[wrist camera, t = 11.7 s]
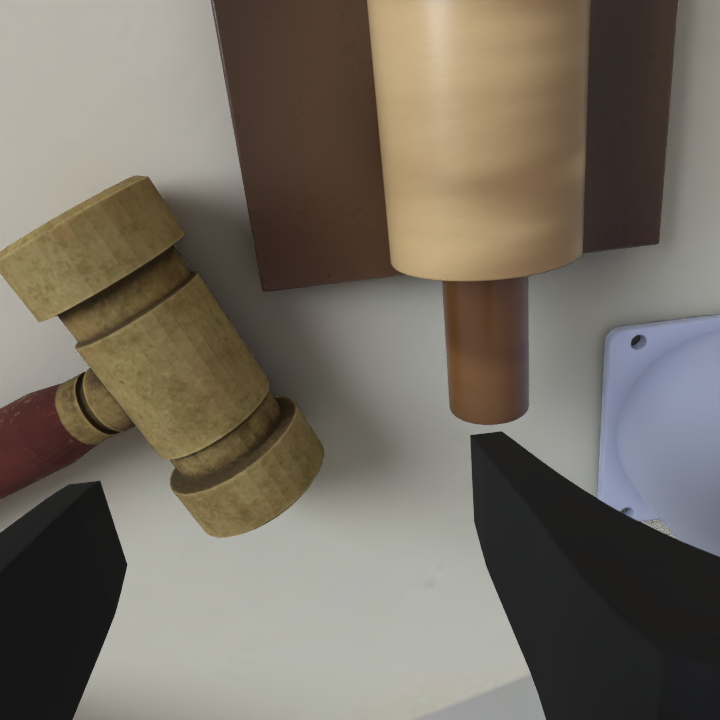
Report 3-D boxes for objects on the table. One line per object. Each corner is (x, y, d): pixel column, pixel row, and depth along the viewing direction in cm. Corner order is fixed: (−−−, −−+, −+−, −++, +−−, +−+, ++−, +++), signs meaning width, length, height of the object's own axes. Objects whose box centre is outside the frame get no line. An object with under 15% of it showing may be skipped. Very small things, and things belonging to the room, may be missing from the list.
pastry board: (674, -358, 15) (711, -406, 13) (637, 234, 20) (659, 244, 19) (166, -299, 15) (149, -341, 13) (266, 279, 20) (262, 293, 19)
